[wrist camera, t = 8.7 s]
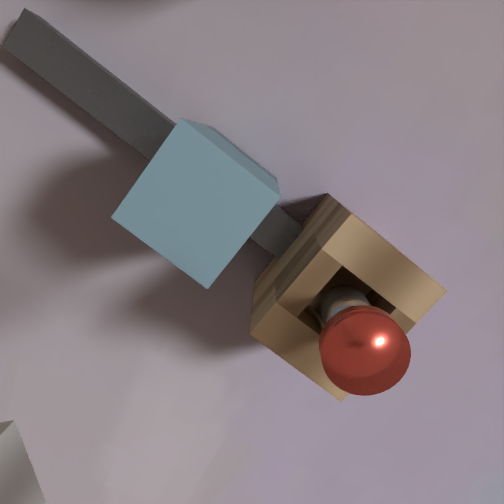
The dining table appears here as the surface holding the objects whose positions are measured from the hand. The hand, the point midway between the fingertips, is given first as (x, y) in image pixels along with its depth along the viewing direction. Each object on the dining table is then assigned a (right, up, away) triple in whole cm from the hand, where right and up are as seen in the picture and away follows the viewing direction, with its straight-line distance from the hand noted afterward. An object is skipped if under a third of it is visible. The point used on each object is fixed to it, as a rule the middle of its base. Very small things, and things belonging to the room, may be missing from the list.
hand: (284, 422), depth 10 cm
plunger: (+5, +1, +15) cm, 16 cm away
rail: (-7, +12, +22) cm, 27 cm away
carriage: (-3, +9, +23) cm, 25 cm away
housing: (+5, +3, +24) cm, 25 cm away
